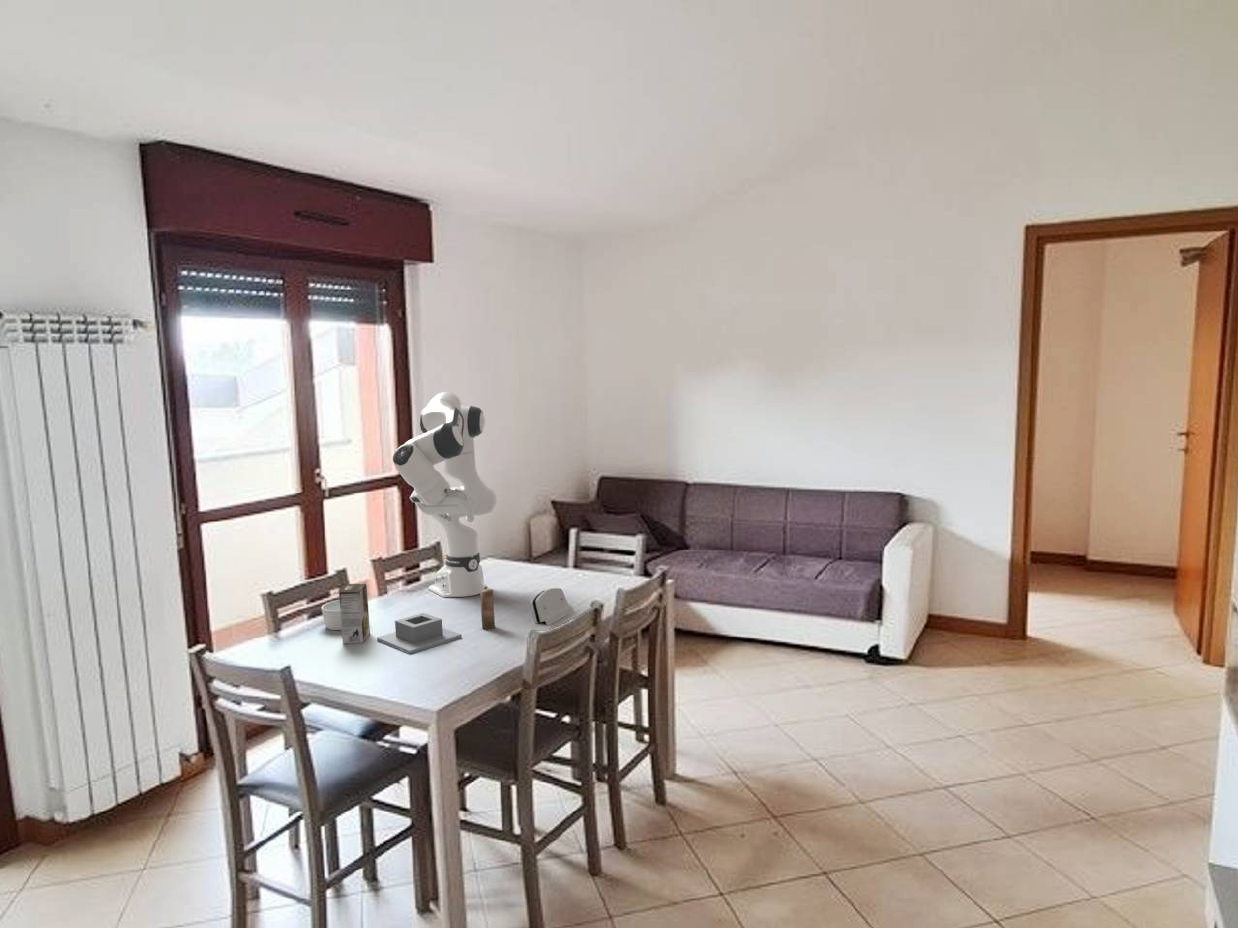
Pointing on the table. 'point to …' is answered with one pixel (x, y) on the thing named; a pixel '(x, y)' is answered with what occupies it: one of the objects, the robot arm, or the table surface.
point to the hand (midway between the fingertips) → (460, 520)
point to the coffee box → (354, 613)
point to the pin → (487, 609)
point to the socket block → (418, 633)
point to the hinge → (549, 606)
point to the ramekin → (332, 615)
